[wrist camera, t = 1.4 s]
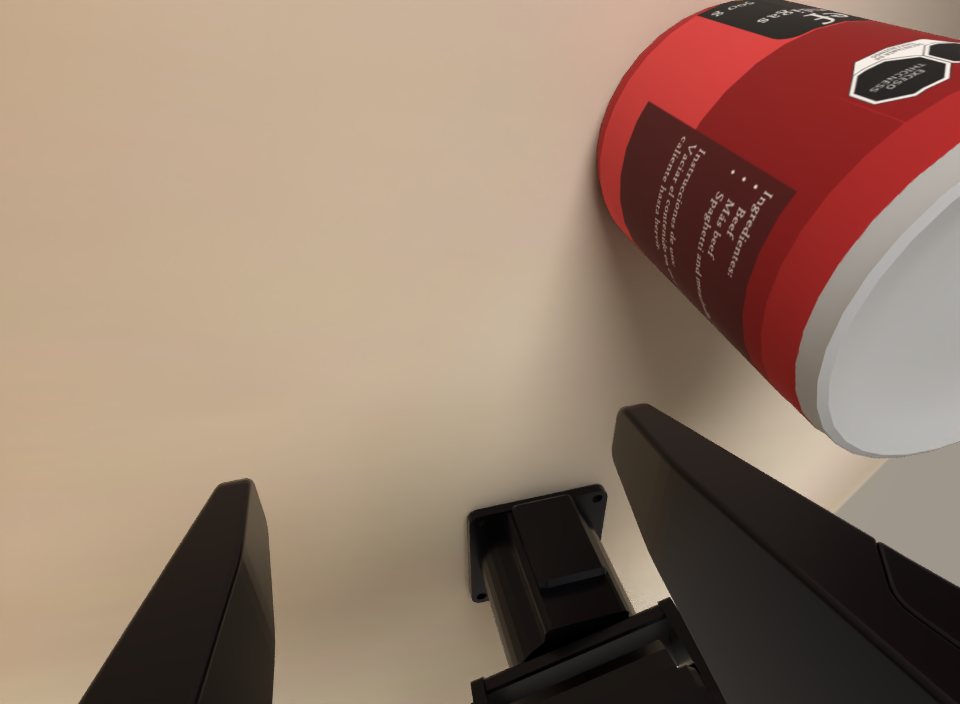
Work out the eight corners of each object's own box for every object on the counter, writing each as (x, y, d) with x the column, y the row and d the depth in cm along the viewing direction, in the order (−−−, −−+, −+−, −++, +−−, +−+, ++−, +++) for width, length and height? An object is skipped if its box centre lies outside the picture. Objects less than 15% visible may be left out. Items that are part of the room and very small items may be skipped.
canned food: (858, 92, 21) (1256, 239, 13) (686, 278, 24) (916, 502, 15) (728, -78, 17) (1183, -34, 9) (539, 169, 20) (741, 389, 11)
